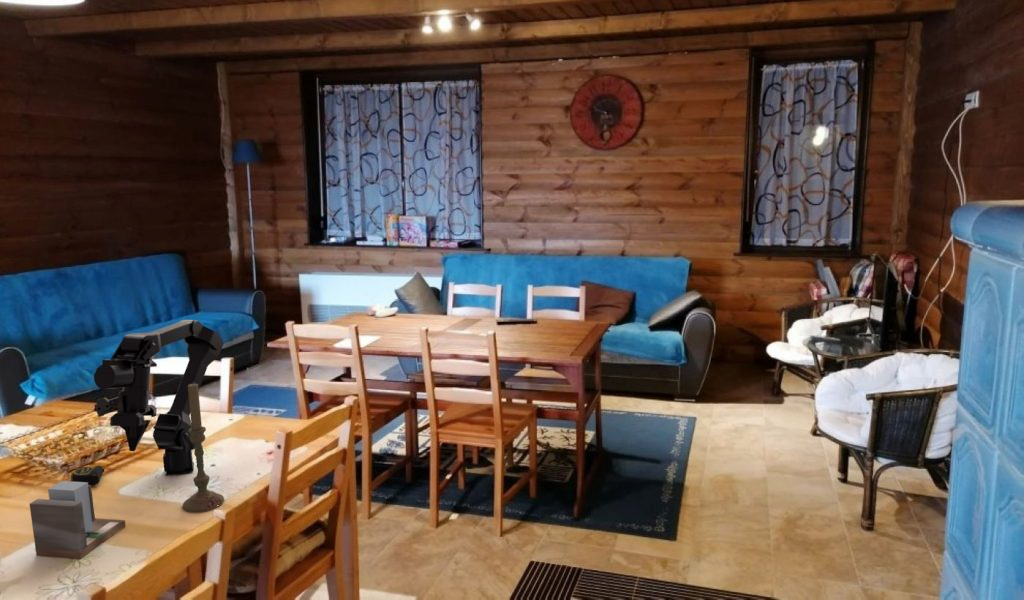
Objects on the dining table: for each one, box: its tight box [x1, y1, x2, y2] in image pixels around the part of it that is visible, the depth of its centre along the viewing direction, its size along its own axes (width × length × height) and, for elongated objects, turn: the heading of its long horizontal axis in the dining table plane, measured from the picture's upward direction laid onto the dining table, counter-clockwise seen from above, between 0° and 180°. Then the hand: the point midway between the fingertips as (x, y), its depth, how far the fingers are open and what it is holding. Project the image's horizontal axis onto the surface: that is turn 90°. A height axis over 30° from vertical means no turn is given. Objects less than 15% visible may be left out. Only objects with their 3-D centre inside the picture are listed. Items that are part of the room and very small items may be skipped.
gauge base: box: [29, 498, 126, 560], centre depth 156 cm, size 14×10×12 cm
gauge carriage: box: [47, 480, 99, 535], centre depth 155 cm, size 5×9×11 cm, turn 82°
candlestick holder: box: [182, 382, 225, 513], centre depth 172 cm, size 9×9×30 cm
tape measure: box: [70, 465, 105, 486], centre depth 186 cm, size 7×7×4 cm
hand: (132, 450), depth 177 cm, fingers closed
